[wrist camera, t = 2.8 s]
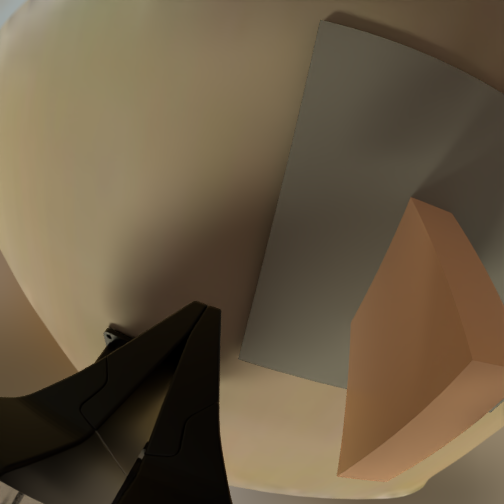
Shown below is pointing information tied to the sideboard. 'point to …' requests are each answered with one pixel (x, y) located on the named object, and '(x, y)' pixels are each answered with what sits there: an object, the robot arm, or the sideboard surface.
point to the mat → (369, 191)
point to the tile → (421, 349)
